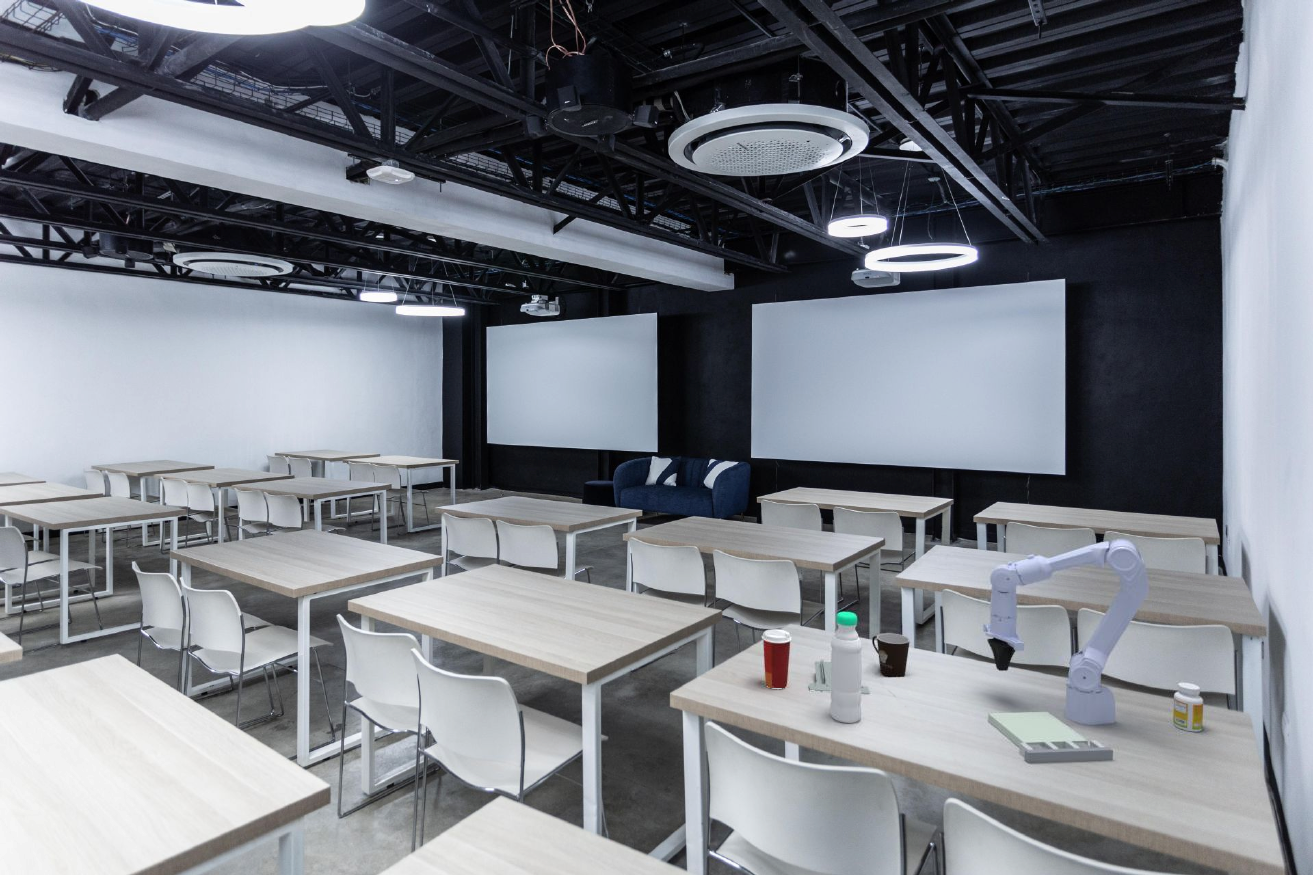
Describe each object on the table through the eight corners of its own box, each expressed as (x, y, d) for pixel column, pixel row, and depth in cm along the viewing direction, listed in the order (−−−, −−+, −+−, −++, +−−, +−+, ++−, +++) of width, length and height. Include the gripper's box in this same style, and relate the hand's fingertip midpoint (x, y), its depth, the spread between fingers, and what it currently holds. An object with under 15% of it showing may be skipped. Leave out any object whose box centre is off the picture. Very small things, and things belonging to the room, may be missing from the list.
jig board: (1036, 711, 170) (1036, 697, 170) (1112, 767, 144) (1112, 749, 144) (963, 713, 169) (964, 699, 169) (1027, 770, 143) (1028, 752, 143)
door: (1046, 719, 163) (1046, 711, 163) (1098, 756, 146) (1098, 748, 145) (988, 720, 162) (988, 713, 162) (1033, 758, 145) (1033, 750, 145)
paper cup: (795, 683, 187) (795, 631, 187) (784, 693, 181) (784, 639, 180) (768, 677, 192) (768, 626, 191) (756, 686, 185) (756, 634, 184)
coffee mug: (913, 680, 190) (914, 643, 189) (881, 680, 190) (882, 643, 189) (899, 664, 201) (900, 629, 201) (869, 664, 201) (869, 629, 201)
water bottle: (863, 714, 169) (864, 611, 168) (858, 726, 162) (859, 619, 161) (833, 708, 172) (834, 607, 171) (827, 720, 165) (828, 615, 164)
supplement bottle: (1199, 724, 163) (1201, 683, 163) (1204, 734, 159) (1205, 692, 158) (1171, 719, 166) (1172, 679, 165) (1174, 729, 161) (1176, 687, 161)
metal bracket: (807, 653, 194) (863, 656, 192) (806, 671, 196) (862, 674, 194) (810, 687, 181) (870, 691, 179) (809, 706, 183) (869, 710, 181)
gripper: (972, 606, 179) (971, 659, 179) (1004, 624, 164) (1002, 681, 165) (999, 606, 179) (997, 658, 180) (1033, 623, 165) (1031, 680, 165)
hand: (1002, 669), depth 172 cm, fingers closed
